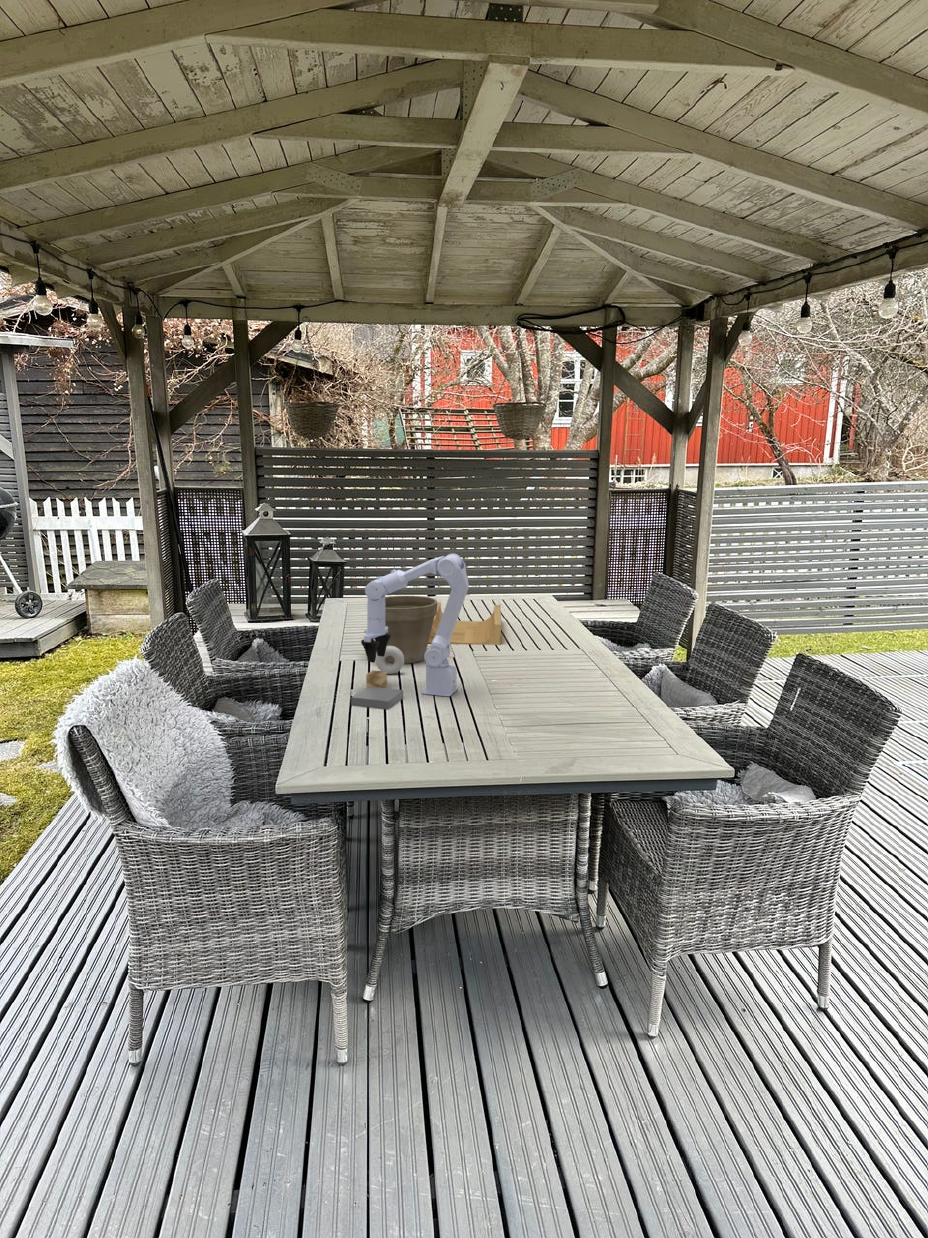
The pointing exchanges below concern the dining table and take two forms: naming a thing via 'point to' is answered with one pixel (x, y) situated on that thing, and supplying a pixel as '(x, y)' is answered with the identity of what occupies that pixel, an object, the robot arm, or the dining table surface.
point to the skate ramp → (472, 629)
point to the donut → (390, 667)
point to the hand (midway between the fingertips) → (376, 659)
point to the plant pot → (409, 625)
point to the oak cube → (376, 679)
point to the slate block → (377, 697)
